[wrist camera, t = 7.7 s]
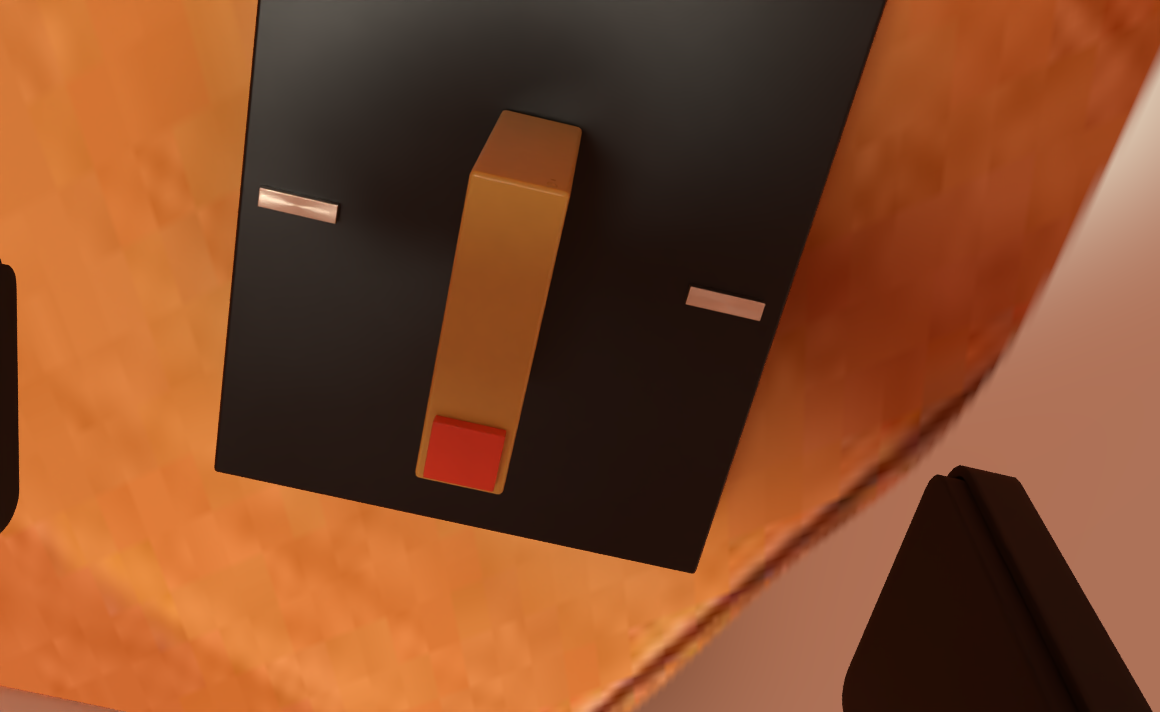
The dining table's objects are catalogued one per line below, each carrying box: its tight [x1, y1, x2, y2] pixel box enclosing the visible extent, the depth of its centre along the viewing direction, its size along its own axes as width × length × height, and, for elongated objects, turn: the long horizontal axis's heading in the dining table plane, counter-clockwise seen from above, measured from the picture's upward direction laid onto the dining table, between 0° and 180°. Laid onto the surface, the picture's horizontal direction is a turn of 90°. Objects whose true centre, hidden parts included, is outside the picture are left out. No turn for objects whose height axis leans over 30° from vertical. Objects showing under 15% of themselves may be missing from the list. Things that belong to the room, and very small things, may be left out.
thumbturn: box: [415, 110, 582, 494], centre depth 17 cm, size 5×1×4 cm, turn 167°
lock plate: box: [214, 0, 887, 573], centre depth 20 cm, size 10×12×3 cm
